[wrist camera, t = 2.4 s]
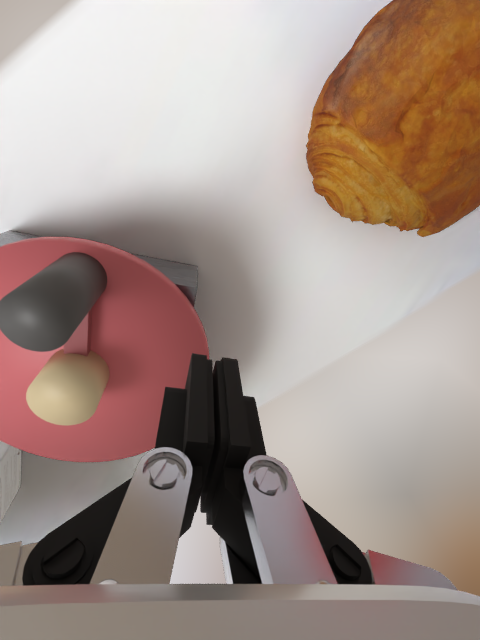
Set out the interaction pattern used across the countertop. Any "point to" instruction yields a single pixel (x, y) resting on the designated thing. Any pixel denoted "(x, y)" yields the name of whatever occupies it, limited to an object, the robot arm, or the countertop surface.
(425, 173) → the croissant
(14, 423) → the handwheel
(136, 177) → the countertop surface
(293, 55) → the countertop surface
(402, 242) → the countertop surface
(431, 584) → the robot arm
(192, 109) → the countertop surface
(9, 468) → the supplement box
